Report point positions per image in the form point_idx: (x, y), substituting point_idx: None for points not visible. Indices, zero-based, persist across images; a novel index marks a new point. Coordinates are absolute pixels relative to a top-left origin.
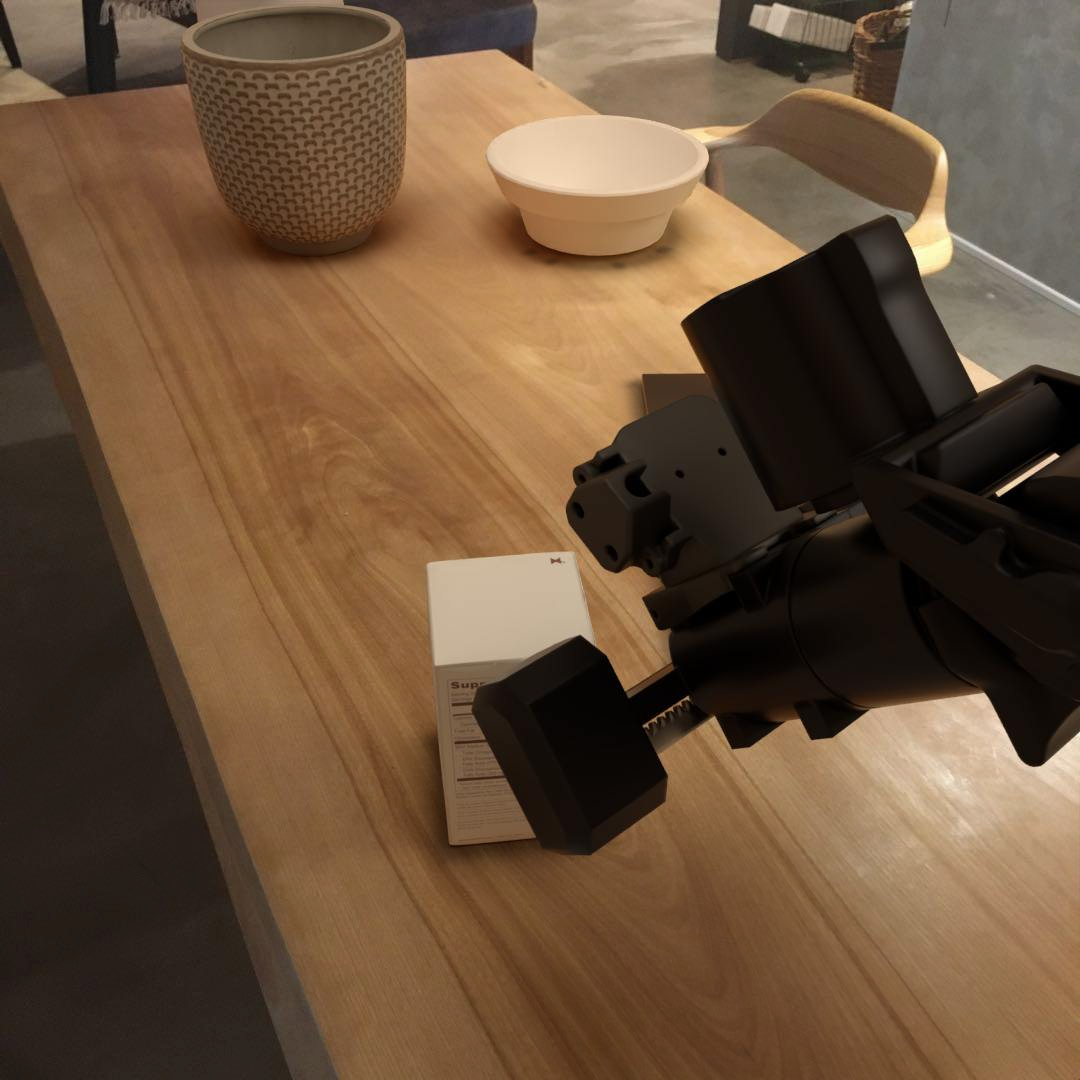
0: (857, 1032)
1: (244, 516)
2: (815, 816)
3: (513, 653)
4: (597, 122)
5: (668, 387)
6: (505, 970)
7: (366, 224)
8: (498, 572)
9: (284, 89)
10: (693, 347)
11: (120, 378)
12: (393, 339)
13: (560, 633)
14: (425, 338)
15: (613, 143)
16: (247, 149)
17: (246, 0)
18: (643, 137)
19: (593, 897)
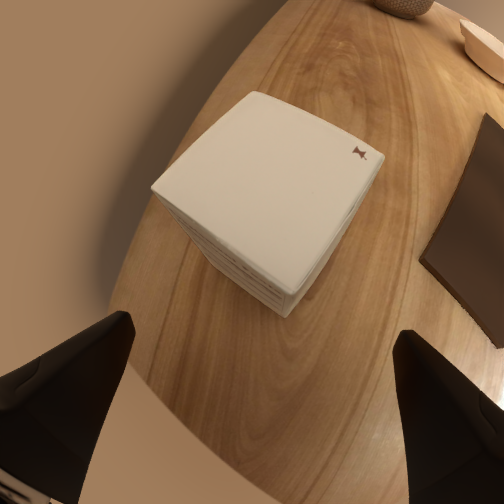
0: (288, 488)
1: (287, 56)
2: (390, 396)
3: (214, 225)
4: (499, 42)
5: (493, 125)
6: (180, 348)
7: (409, 12)
8: (296, 128)
9: None
10: None
11: (292, 9)
12: (398, 40)
13: (282, 237)
14: (410, 46)
15: (502, 51)
16: None
17: None
18: None
19: (250, 352)
